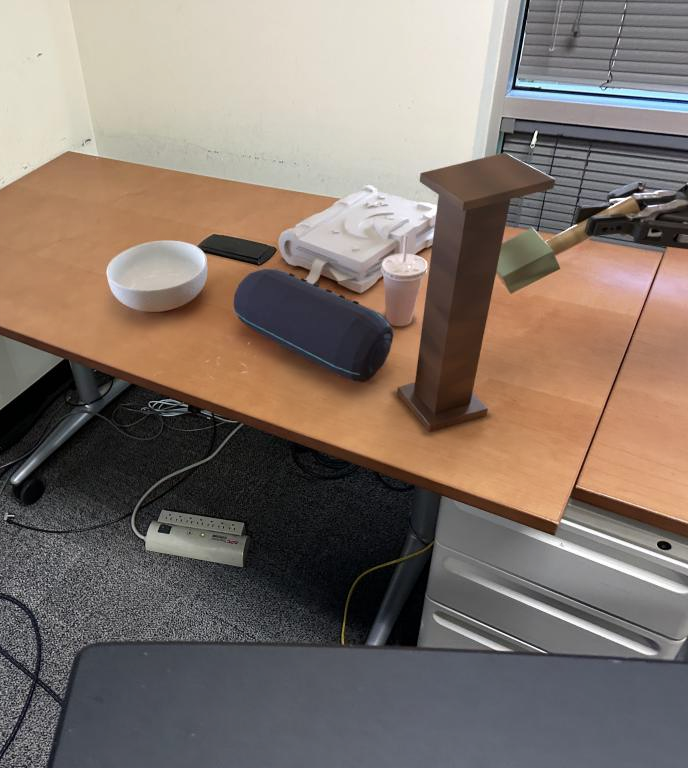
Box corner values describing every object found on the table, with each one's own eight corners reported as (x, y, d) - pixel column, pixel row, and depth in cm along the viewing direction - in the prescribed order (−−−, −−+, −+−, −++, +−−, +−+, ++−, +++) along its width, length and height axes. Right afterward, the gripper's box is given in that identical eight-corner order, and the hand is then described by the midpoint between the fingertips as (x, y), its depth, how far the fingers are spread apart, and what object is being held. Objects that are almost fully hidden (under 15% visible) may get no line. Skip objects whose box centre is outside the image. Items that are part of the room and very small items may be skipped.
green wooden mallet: (624, 201, 82) (617, 181, 81) (650, 223, 77) (644, 203, 76) (492, 269, 88) (484, 252, 86) (510, 294, 83) (502, 276, 82)
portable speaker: (404, 368, 96) (410, 308, 89) (358, 403, 91) (362, 343, 85) (272, 305, 112) (270, 251, 105) (228, 332, 107) (223, 278, 101)
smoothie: (417, 306, 107) (426, 224, 98) (424, 330, 102) (435, 246, 93) (374, 308, 108) (380, 227, 99) (379, 332, 103) (386, 249, 94)
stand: (464, 374, 93) (505, 152, 74) (500, 411, 87) (555, 179, 67) (396, 393, 92) (420, 172, 72) (429, 432, 86) (464, 202, 66)
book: (257, 272, 120) (255, 233, 115) (358, 212, 132) (360, 174, 128) (345, 311, 108) (347, 269, 103) (448, 241, 120) (453, 200, 115)
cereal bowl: (230, 290, 117) (227, 254, 112) (163, 339, 108) (157, 301, 104) (160, 264, 127) (154, 230, 122) (93, 307, 118) (85, 271, 114)
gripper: (760, 265, 76) (600, 279, 78) (688, 210, 87) (548, 223, 88) (792, 202, 72) (621, 218, 73) (712, 153, 82) (563, 167, 83)
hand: (582, 221), depth 81 cm, fingers closed on green wooden mallet, 2 cm apart
